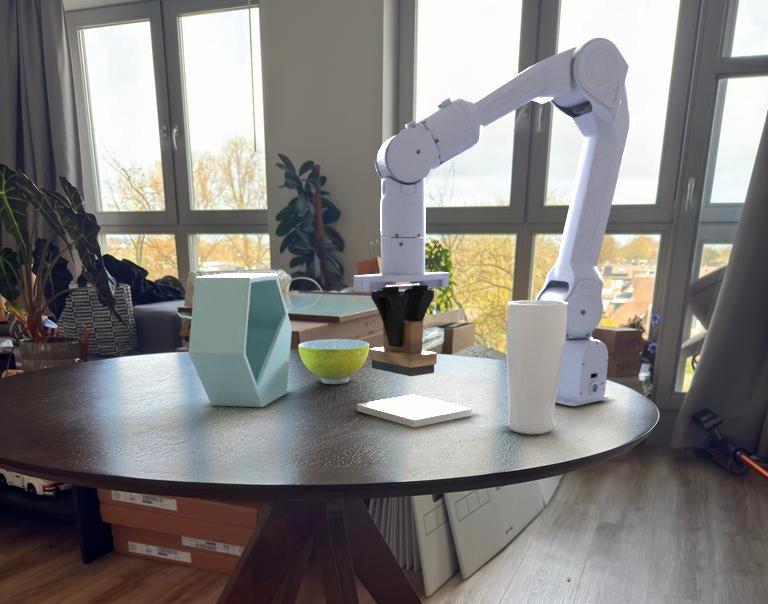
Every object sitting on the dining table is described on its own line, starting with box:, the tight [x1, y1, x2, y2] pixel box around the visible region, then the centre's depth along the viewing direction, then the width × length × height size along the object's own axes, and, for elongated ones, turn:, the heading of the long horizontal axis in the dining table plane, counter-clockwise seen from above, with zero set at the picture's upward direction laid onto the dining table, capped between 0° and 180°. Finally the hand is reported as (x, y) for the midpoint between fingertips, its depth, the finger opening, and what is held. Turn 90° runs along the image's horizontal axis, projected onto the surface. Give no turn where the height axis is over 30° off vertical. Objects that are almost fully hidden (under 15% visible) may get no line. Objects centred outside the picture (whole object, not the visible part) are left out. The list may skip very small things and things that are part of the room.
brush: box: [369, 320, 438, 377], centre depth 98 cm, size 9×4×7 cm, turn 38°
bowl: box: [298, 338, 370, 385], centre depth 118 cm, size 11×12×6 cm
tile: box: [356, 394, 473, 428], centre depth 97 cm, size 12×10×1 cm
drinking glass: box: [505, 299, 568, 435], centre depth 85 cm, size 7×7×15 cm
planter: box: [188, 273, 293, 408], centre depth 102 cm, size 17×8×21 cm
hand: (402, 345), depth 98 cm, fingers closed on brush, 2 cm apart
